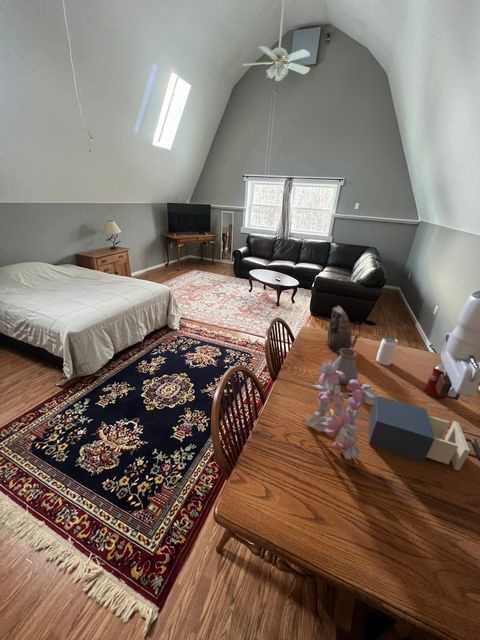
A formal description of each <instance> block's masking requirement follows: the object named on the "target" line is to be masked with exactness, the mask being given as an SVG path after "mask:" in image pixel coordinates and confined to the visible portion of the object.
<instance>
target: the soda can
mask: <svg viewBox="0 0 480 640" xmlns="http://www.w3.org/2000/svg"><path fill="white" fill-rule="evenodd" d="M444 372H445V367H444V365H443V363H436V364H435V365H434V366H433V369H432V371H431V373H430V376H429V378H428V380H427V383H426V385H425V387H424V391H425V393H426V394H427V395H428V396H430V397H431V398H434V399H436V400H445V399H447V398H446V397H443V396H439V395H438V392H437V389H436V384H437V382H438V380H439V377H440V375H441V374H442V375H444Z"/></svg>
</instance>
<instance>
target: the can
mask: <svg viewBox="0 0 480 640" xmlns="http://www.w3.org/2000/svg"><path fill="white" fill-rule="evenodd" d="M397 348H398V340H397V339H396V338H395V337H392V336H384V337H383V338H382V340H381V342H380V345H379V348H378V351H377V355H376V358H375V360H376V362H377V363H378V362H379V363H378V364H380V365H382V364H383V366H390V365H392V362H393V360H394V357H395V355H396V354H395V353H396V351H397Z"/></svg>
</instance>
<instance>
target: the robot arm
mask: <svg viewBox="0 0 480 640" xmlns="http://www.w3.org/2000/svg"><path fill="white" fill-rule="evenodd" d="M440 360H441V363H442V364H443V365H444V367H445V372H444V375H446V376H449V378H450V381H451V383H452V387H451V388H449V389H448V391H447V393H448V395H449V396H451V397H456V395H457V394H460V396H463V397H469V398H471V397H473V396H475V394H476V393H477V390H478V388H479V385H480V364H479V363H480V290H477V291H475V292H473V293H472V294H470V296H469V297H468V298H467V299H466V300H465V302H464V304H463V306H462V308H461V310H460V312H459V314H458V316H457V319H456V326H455V327H454V329H453V330H452V331H451V332H446V334H445V336H444V343H443V346H442V349H441V352H440Z"/></svg>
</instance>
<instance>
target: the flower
mask: <svg viewBox="0 0 480 640" xmlns="http://www.w3.org/2000/svg"><path fill="white" fill-rule="evenodd" d="M334 362H335V361H334ZM337 368H338V364H337V362H335V364H334V366H333V362H332V360H327V361H326V357H324V358H323V361H321V363H320V365H318V366H317V370H318V372H319V373H320V375H319V377H318V383H319V384H311V385H310V386H309V389H311V388H313V389H315V390H319V391H320V393H319V394H318V395H317V407H318V408H317V410H316V411H314V412H313V413H312V414H311V415H310V416H309V417H307V418H306V419H303V418H302V419H301V422H302V423H304V425H305V424H306V425H308V426H310V427H311V428H312V429H314V430H315V431H317V432H319V433H320V432H323V433H325V434H326V435H327V436H329V437H331V438H333V437H336V436H337V438H338V439H339V441H340V442H339V441H338V440H335V441H334V442H333V447H334V449H335V450H337V451H341V450H342V451H343V452H342V455H343V457H344V459H345V460H346V461H348V460H350V462H352V459H353V460H354V461H355V463H356V464H359V463H358V461H357V459H356V457H359V455H360V454H362V452H361V449H360V447H358V446H357V445H356V444H358V435H357V433H356V432H358V433H359V432H360V429H359V427H358V424H357V423H356V421H359V420H360V419H361V418H362V415H360V411H359V409H361V406H363V405H362V404H367V405H370V406H372V405H373V404H374V403H375V402H376V399H375V397H380V396H381V397H382V394H380V395H377V394H375V393H374V392H376V389H375V388H374V389H371V388H373V387H374V385H370V384H368V383H364V384H360V382H359V381H358V379H356V380H353V379H352V380H350V383H349V384H346V389H348V390H349V391H352V392H341V391H342V390H341V384H340V383H339V378H338V377H337V376H339V377H341V378H342V379H343V380H344V379H345V374H344V373H343V372H341V371H338V370H337ZM340 392H341V393H340ZM348 395H351V397H349V398H347V399H346V402H347V406H346V407H344V406H345V405H344V404H343V403H344V402H345V399H344V396H348ZM374 401H375V402H374ZM332 403H333V404H334V409H335V412H334V410H333V409H331V405H332ZM344 409H345V411H346V412H345V411H344ZM328 411H330V414H331V416H330V415H328V414H326V413H327V412H328ZM338 417H339V420H340V421H339V420H338ZM362 455H363V454H362Z"/></svg>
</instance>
